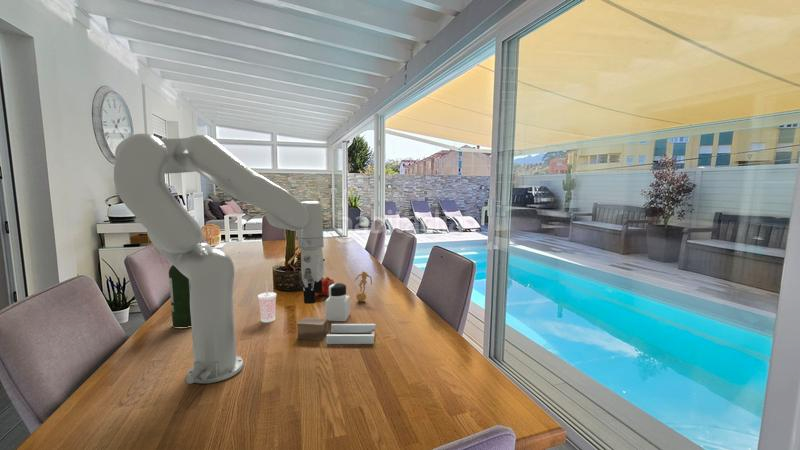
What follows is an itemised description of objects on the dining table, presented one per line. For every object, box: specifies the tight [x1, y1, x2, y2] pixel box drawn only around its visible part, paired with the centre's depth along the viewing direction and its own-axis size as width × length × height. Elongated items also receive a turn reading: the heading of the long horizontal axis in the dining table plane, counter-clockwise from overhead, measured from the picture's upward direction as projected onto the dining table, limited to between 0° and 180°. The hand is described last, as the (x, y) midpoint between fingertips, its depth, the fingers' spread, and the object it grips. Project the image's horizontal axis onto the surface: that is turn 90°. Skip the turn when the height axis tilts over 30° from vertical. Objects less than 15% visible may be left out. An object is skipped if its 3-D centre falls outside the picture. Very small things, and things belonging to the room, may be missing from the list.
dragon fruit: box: [315, 276, 335, 297], centre depth 152 cm, size 8×8×12 cm
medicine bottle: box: [324, 282, 351, 322], centre depth 126 cm, size 7×7×12 cm
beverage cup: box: [257, 280, 277, 323], centre depth 124 cm, size 6×6×14 cm
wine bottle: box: [168, 264, 192, 328], centre depth 119 cm, size 8×8×30 cm
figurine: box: [353, 271, 373, 303], centre depth 144 cm, size 8×6×12 cm
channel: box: [325, 323, 376, 345], centre depth 111 cm, size 9×14×2 cm, turn 90°
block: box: [296, 317, 329, 341], centre depth 112 cm, size 5×8×5 cm, turn 82°
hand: (313, 297), depth 110 cm, fingers open, 9 cm apart
